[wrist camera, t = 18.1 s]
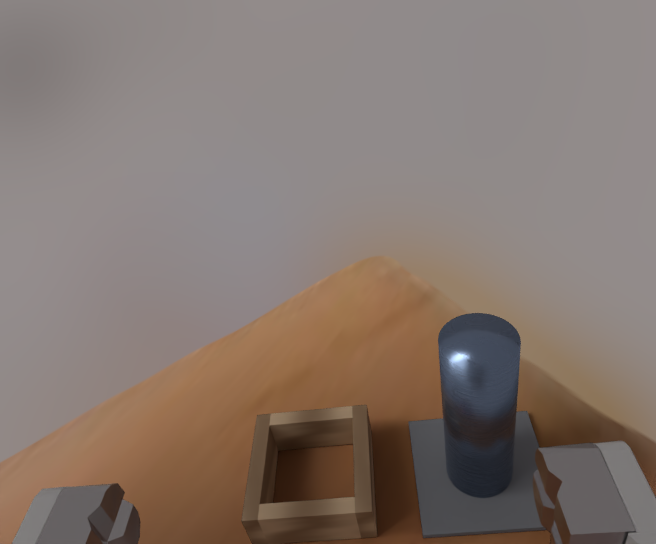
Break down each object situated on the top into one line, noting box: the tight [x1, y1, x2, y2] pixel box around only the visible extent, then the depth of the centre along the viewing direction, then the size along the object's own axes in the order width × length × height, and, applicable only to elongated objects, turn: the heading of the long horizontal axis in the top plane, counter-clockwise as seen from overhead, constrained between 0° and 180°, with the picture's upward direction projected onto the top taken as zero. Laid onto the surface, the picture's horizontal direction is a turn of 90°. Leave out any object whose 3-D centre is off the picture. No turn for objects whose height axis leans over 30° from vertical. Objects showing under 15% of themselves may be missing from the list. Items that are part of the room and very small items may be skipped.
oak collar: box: [241, 405, 377, 544], centre depth 43 cm, size 9×9×4 cm
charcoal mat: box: [409, 411, 547, 538], centre depth 43 cm, size 10×10×1 cm
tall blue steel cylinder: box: [438, 313, 521, 498], centre depth 38 cm, size 5×5×14 cm
